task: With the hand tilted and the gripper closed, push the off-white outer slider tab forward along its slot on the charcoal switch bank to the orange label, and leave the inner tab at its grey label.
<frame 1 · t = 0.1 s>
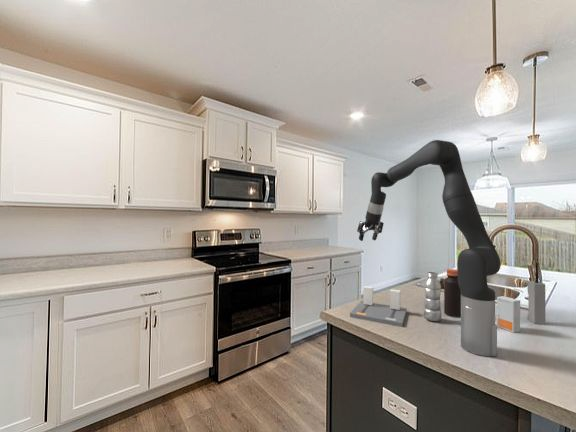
hand: (367, 240, 139), 31 cm above the counter, tool tilted 20°, fingers open, 8 cm apart
vinegar: (452, 315, 117), on the counter
tab inner: (395, 299, 120), point 6 cm above the counter, slide at 0.0 cm
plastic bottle: (432, 320, 111), on the counter
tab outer: (368, 295, 126), point 6 cm above the counter, slide at 0.0 cm
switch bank: (379, 314, 117), on the counter
skincare box: (508, 329, 103), on the counter
vintage mobile phone: (536, 322, 110), on the counter
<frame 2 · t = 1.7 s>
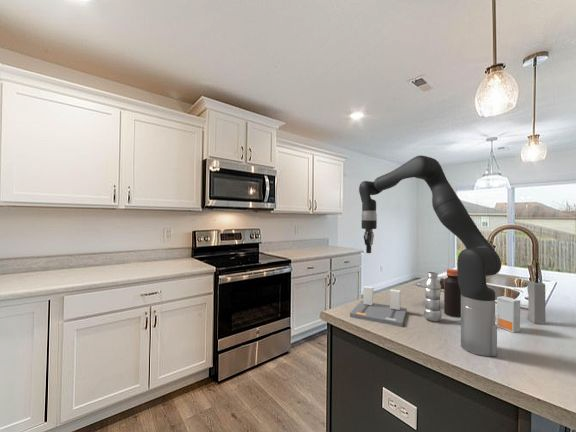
hand: (368, 253, 136), 25 cm above the counter, tool pointing down, fingers closed
nothing on the counter moved.
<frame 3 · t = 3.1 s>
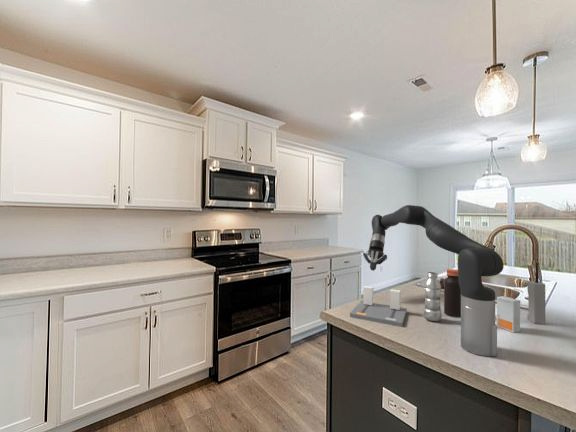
hand: (372, 269, 135), 17 cm above the counter, tool tilted 45°, fingers closed
nothing on the counter moved.
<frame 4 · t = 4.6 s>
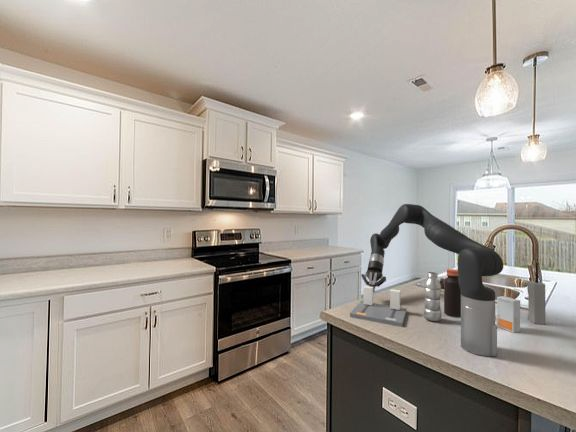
hand: (371, 292, 131), 6 cm above the counter, tool tilted 45°, fingers closed
nothing on the counter moved.
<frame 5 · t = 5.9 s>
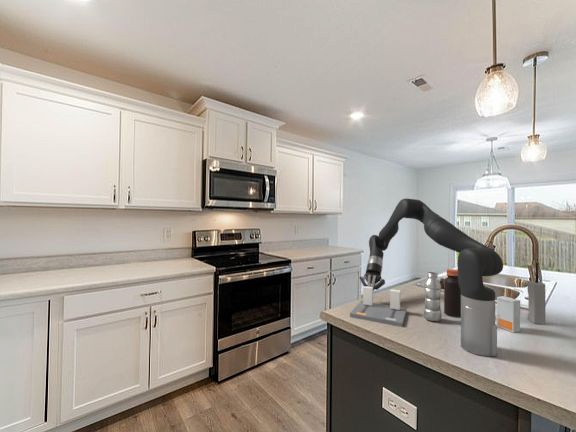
hand: (369, 295, 127), 5 cm above the counter, tool tilted 45°, fingers closed
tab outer: (368, 295, 125), point 6 cm above the counter, slide at 0.5 cm, touching gripper
everything else where it was.
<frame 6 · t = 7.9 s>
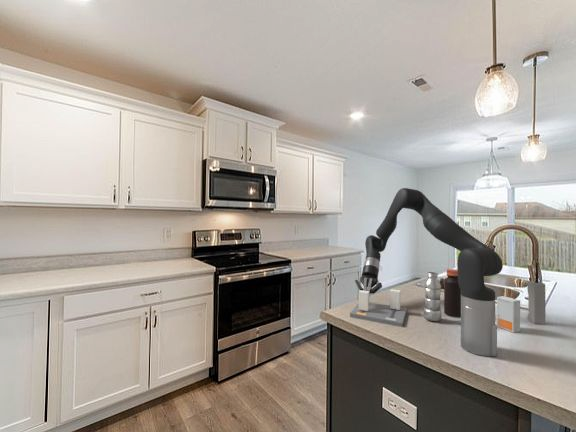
hand: (365, 300, 120), 6 cm above the counter, tool tilted 45°, fingers closed
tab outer: (364, 300, 118), point 6 cm above the counter, slide at 9.0 cm, touching gripper
everything else where it was.
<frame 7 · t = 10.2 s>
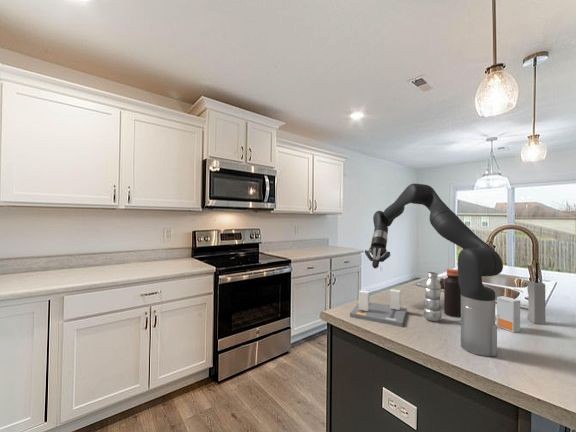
hand: (375, 267, 127), 19 cm above the counter, tool tilted 45°, fingers closed
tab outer: (364, 300, 118), point 6 cm above the counter, slide at 9.0 cm
everything else where it was.
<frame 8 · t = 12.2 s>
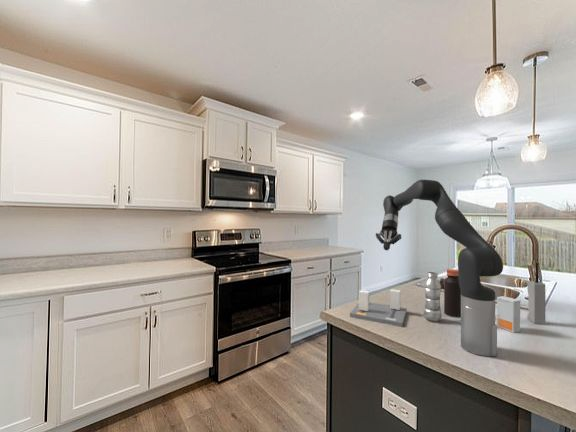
hand: (386, 249, 129), 28 cm above the counter, tool tilted 45°, fingers closed
nothing on the counter moved.
at the end: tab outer slide at 9.0 cm; tab inner slide at 0.0 cm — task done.
